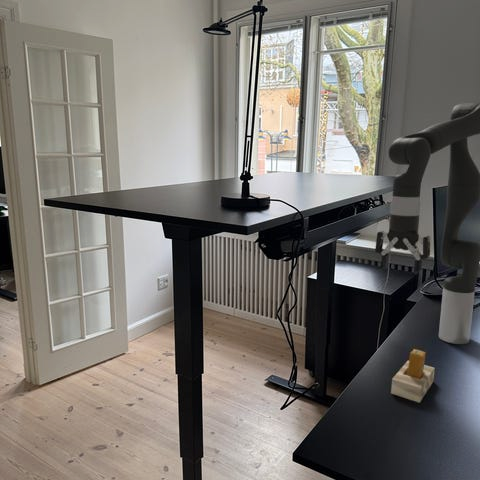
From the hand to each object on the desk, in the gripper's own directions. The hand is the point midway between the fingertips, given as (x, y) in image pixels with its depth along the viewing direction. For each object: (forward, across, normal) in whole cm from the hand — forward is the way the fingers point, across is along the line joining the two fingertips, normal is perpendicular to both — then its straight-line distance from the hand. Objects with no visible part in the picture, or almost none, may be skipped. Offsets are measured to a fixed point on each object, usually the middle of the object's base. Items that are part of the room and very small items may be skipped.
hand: (400, 270), depth 123 cm
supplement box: (+28, -9, +10) cm, 31 cm away
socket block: (+28, -8, +10) cm, 31 cm away
